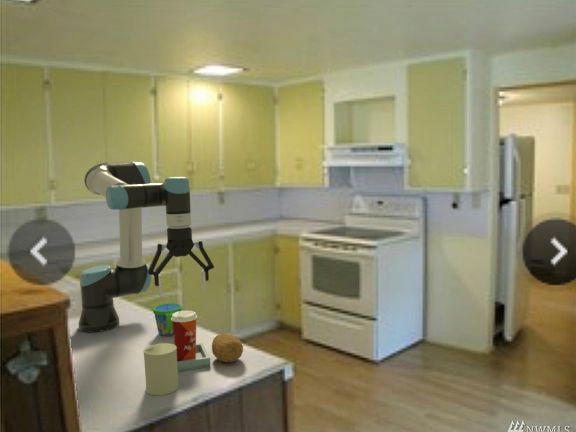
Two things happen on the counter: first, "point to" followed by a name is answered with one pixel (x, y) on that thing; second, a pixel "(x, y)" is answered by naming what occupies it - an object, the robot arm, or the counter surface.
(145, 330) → the counter surface
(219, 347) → the potato
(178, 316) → the coffee cup
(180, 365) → the tray
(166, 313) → the snack cup
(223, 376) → the counter surface
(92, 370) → the counter surface
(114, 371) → the counter surface
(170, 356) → the can
